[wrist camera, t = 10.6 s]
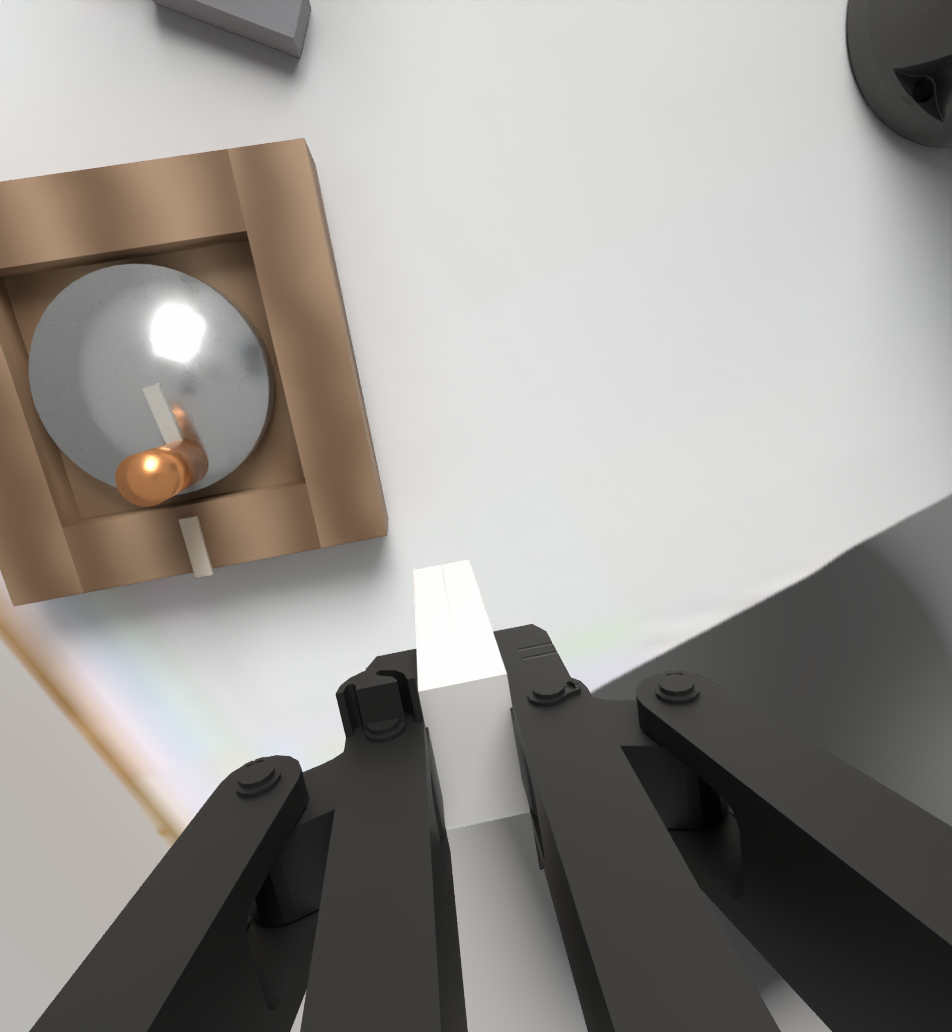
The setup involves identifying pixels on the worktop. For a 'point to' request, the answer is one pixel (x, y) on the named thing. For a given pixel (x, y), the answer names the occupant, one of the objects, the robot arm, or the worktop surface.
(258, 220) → the housing
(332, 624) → the worktop surface
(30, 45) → the worktop surface
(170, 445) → the dial
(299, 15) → the screwdriver
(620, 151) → the worktop surface
